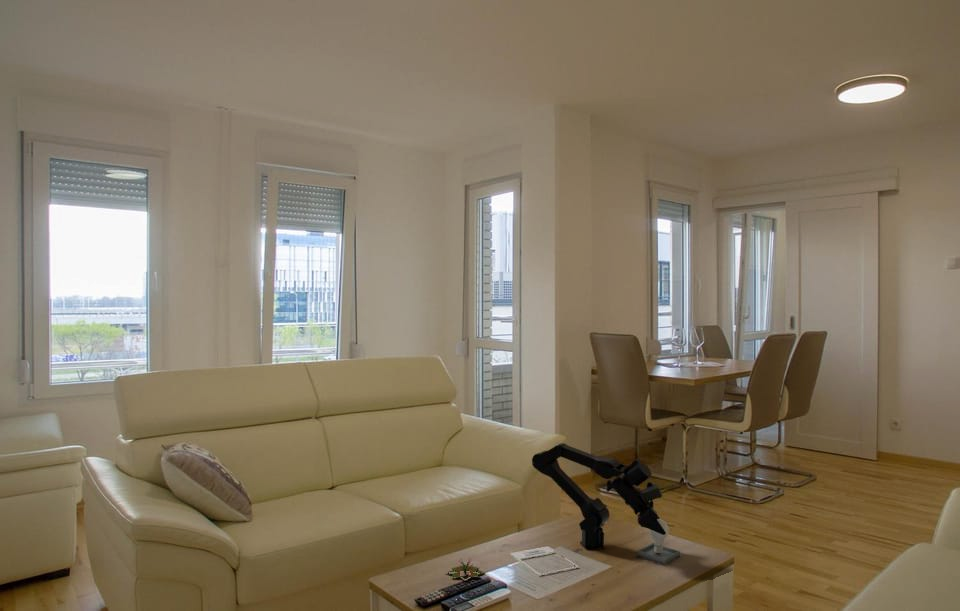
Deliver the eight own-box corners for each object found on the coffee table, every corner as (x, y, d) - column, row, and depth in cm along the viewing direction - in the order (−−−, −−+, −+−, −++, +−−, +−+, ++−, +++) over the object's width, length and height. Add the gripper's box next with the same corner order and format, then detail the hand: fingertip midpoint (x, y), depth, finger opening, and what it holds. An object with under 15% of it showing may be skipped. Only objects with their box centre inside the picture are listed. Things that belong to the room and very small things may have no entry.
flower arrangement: (466, 588, 176) (466, 572, 176) (437, 575, 184) (437, 560, 184) (493, 575, 185) (493, 560, 185) (464, 563, 193) (464, 549, 193)
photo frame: (548, 545, 206) (579, 566, 190) (548, 549, 206) (579, 569, 190) (509, 552, 199) (538, 574, 183) (509, 556, 199) (538, 578, 183)
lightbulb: (669, 552, 201) (670, 518, 202) (666, 558, 196) (667, 523, 196) (649, 548, 204) (650, 515, 204) (646, 554, 198) (647, 520, 199)
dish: (664, 565, 192) (664, 559, 192) (636, 556, 200) (636, 550, 200) (680, 557, 199) (680, 551, 199) (652, 548, 207) (652, 542, 207)
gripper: (649, 484, 191) (686, 522, 189) (644, 469, 210) (677, 503, 208) (623, 507, 192) (659, 546, 190) (620, 490, 211) (653, 525, 209)
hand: (663, 529), depth 199 cm, fingers open, 9 cm apart
